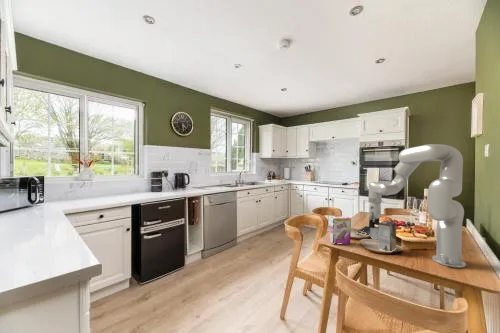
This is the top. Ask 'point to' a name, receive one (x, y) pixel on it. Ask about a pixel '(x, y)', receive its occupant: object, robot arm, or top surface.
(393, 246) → the coffee box
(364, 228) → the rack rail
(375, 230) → the nut block
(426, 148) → the robot arm
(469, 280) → the top surface
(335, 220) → the candy bar box
